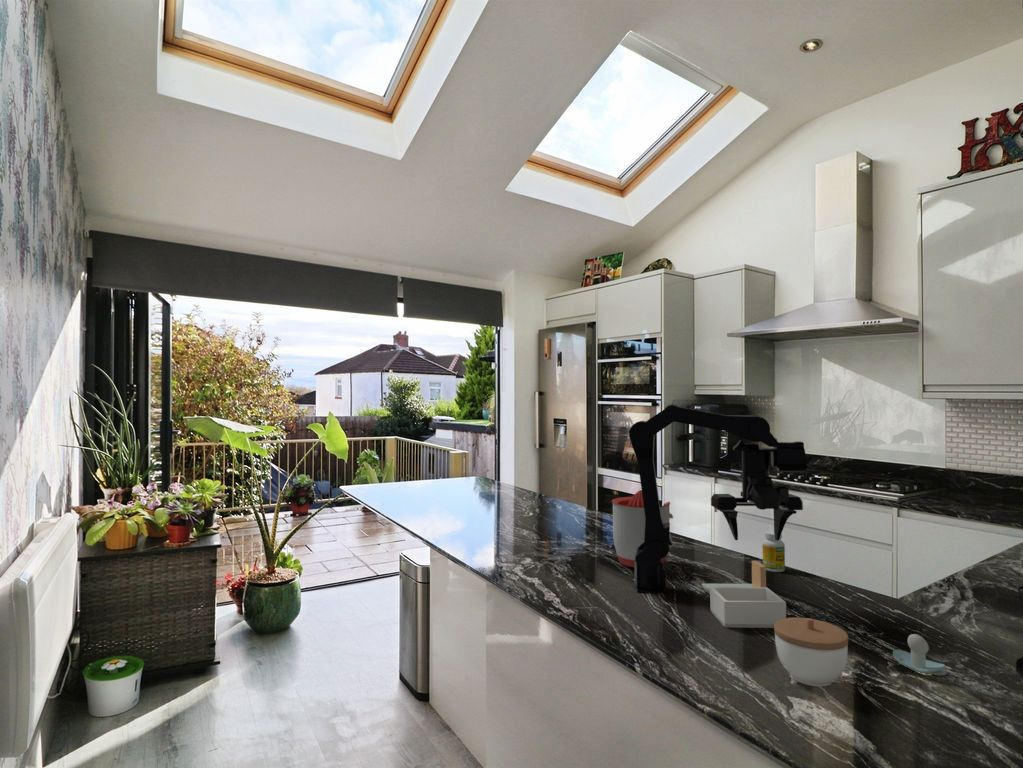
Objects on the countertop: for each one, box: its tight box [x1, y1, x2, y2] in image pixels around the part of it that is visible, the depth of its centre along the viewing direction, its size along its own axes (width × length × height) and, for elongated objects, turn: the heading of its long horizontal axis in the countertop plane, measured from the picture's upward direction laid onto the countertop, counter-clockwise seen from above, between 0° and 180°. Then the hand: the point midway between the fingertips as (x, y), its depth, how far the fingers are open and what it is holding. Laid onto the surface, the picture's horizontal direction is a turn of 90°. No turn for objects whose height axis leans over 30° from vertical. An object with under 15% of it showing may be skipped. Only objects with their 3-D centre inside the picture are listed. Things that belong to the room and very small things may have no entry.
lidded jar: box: [773, 617, 849, 688], centre depth 95 cm, size 11×11×9 cm
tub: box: [709, 586, 787, 629], centre depth 120 cm, size 12×9×5 cm
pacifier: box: [892, 633, 947, 676], centre depth 98 cm, size 7×6×6 cm
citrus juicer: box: [611, 489, 674, 568], centre depth 161 cm, size 16×17×20 cm
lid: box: [701, 560, 767, 595], centre depth 133 cm, size 12×9×8 cm
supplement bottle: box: [762, 530, 786, 573], centre depth 155 cm, size 5×5×10 cm
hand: (756, 540), depth 133 cm, fingers open, 9 cm apart
